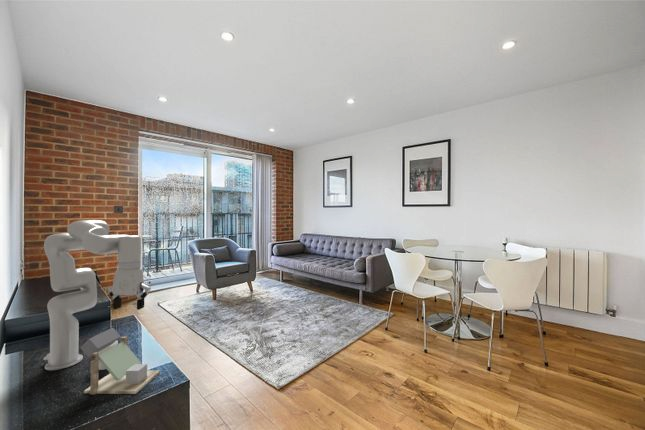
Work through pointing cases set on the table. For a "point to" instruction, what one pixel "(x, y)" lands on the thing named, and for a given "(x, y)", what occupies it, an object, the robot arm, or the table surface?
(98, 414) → the table surface
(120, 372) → the trapdoor
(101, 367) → the white cup
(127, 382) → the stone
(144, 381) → the frame
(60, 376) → the table surface
